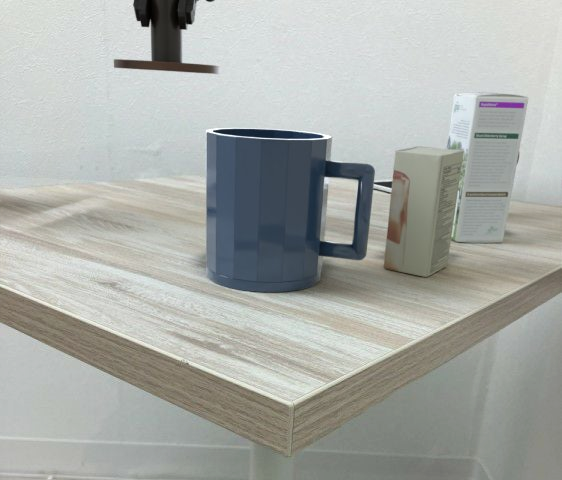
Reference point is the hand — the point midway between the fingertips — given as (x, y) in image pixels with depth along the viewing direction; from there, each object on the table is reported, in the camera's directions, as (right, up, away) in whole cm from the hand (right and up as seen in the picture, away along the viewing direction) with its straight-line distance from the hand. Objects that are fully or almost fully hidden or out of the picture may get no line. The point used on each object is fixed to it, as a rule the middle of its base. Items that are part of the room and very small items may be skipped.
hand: (163, 20), depth 64 cm
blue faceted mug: (+12, -27, -11) cm, 31 cm away
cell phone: (+31, -8, +34) cm, 46 cm away
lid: (0, -3, +4) cm, 5 cm away
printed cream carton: (+24, -26, -6) cm, 35 cm away
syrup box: (+32, -20, +7) cm, 38 cm away
